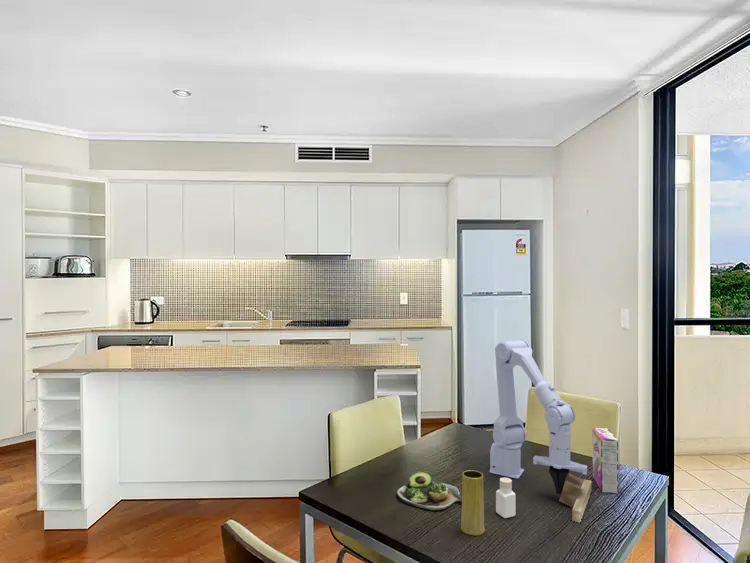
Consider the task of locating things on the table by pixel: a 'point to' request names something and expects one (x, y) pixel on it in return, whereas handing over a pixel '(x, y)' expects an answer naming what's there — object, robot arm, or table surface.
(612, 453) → the candy bar box
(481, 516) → the vase
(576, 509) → the maple board
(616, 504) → the table surface
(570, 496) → the walnut block
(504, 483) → the pepper shaker
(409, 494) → the salad plate
